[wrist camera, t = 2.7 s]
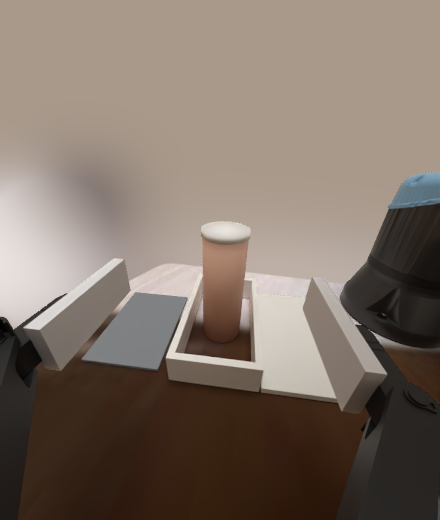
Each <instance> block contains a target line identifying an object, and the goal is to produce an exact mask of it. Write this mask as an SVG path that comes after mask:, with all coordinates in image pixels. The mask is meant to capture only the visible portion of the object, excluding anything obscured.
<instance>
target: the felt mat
mask: <svg viewBox="0 0 440 520" xmlns="http://www.w3.org/2000/svg"><path fill="white" fill-rule="evenodd" d="M186 301H187V297H177V296H167V295H157V294H147V293H137V292H135V293H134V295H133V296H132V297H131V298H130V300H129V301H128V302H127V303H126V305H125V306H124V307H123V308H122V310H121V311H120V312H119V313H118V315H117V316H116V317H115V318H114V319H113V321H112V322H111V323H110V324H109V326H108V327H107V328H106V329H105V331H104V332H103V333H102V334H101V336H100V337H99V338H98V339H97V341H96V342H95V343H94V344H93V345H92V347H91V348H90V349H89V350H88V352H87V353H86V354H85V355H84V357H83V358H82V359H81V360H82V361H84V362H91V363H98V364H106V365H113V366H121V367H128V368H135V369H143V370H150V371H158V370H159V367H160V365H161V363H162V360H163V358H164V355H165V353H166V350H167V348H168V345H169V343H170V340H171V338H172V336H173V333H174V331H175V328H176V326H177V323H178V321H179V318H180V316H181V314H182V311H183V309H184V306H185V304H186Z"/></svg>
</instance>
